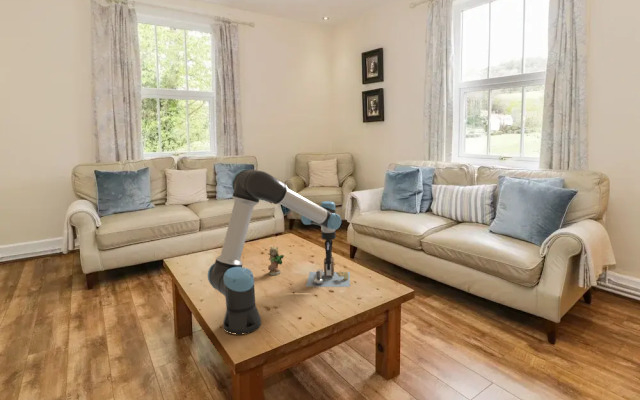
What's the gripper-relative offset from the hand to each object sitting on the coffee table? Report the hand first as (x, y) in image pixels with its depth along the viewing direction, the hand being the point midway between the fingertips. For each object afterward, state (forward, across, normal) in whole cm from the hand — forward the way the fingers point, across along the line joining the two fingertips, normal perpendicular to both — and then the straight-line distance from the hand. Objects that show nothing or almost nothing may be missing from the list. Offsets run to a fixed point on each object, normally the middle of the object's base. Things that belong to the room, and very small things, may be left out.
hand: (329, 273), depth 197 cm
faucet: (+2, -4, +5) cm, 6 cm away
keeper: (+3, -4, -7) cm, 9 cm away
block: (+1, 0, 0) cm, 1 cm away
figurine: (+3, +6, +30) cm, 31 cm away
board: (+3, -4, 0) cm, 5 cm away
